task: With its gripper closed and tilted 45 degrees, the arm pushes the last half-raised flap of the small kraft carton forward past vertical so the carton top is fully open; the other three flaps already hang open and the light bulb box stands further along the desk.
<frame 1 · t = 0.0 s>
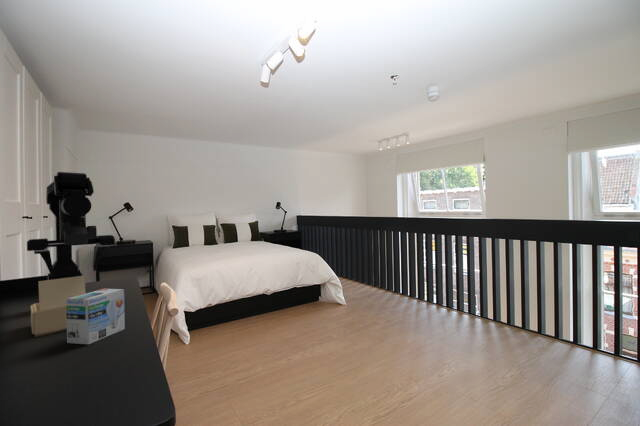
hand: (74, 273, 85), 15 cm above the table, tool pointing down, fingers open, 9 cm apart
light bulb box: (97, 336, 77), on the table
far flap: (63, 292, 83), point 10 cm above the table, hinge at 62.0°
carton: (62, 324, 86), on the table
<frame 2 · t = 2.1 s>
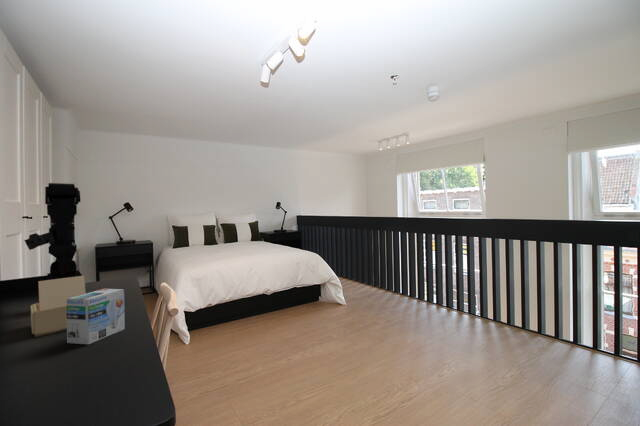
hand: (63, 274, 94), 13 cm above the table, tool pointing down, fingers closed
nothing on the table moved.
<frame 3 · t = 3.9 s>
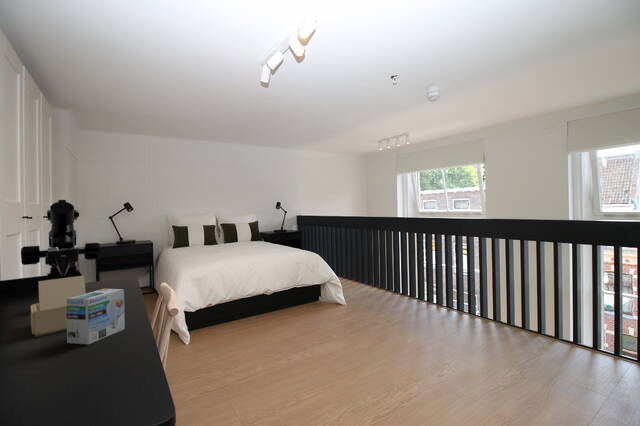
hand: (63, 274, 91), 13 cm above the table, tool tilted 45°, fingers closed
nothing on the table moved.
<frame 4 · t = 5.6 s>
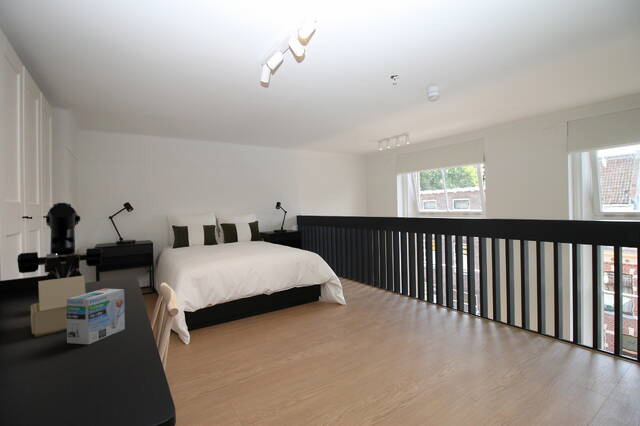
hand: (63, 282, 84), 12 cm above the table, tool tilted 45°, fingers closed, pressing on far flap
far flap: (63, 292, 83), point 10 cm above the table, hinge at 62.0°, touching gripper
everything else where it was.
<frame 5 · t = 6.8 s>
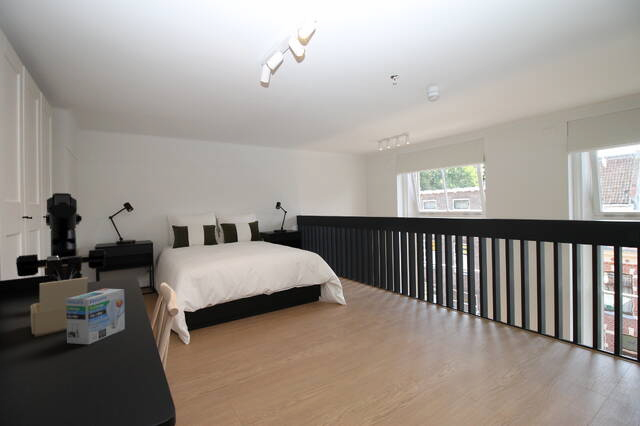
hand: (65, 286, 80), 12 cm above the table, tool tilted 45°, fingers closed, pressing on far flap
far flap: (64, 293, 80), point 10 cm above the table, hinge at 112.7°, touching gripper
everything else where it was.
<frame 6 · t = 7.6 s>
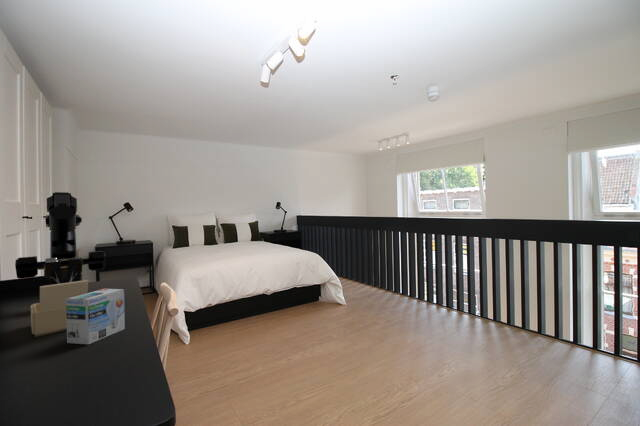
hand: (64, 289, 79), 12 cm above the table, tool tilted 45°, fingers closed, pressing on far flap
far flap: (64, 295, 80), point 10 cm above the table, hinge at 122.1°, touching gripper
everything else where it was.
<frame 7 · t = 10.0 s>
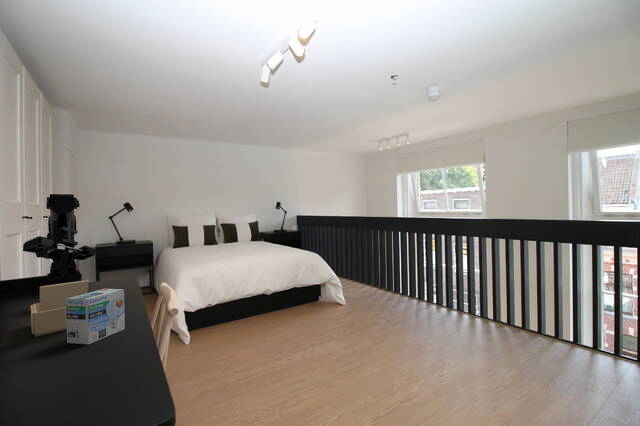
hand: (63, 275, 93), 13 cm above the table, tool tilted 25°, fingers closed
far flap: (64, 295, 80), point 10 cm above the table, hinge at 122.4°
everything else where it was.
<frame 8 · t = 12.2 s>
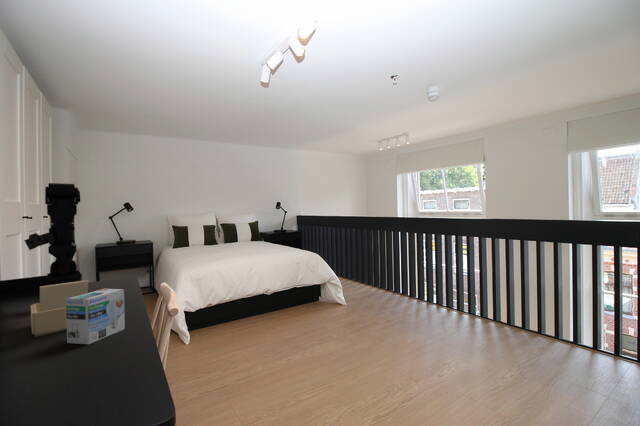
hand: (63, 274, 94), 13 cm above the table, tool pointing down, fingers closed
nothing on the table moved.
at the end: far flap at +122° (first picture: +62°) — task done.
